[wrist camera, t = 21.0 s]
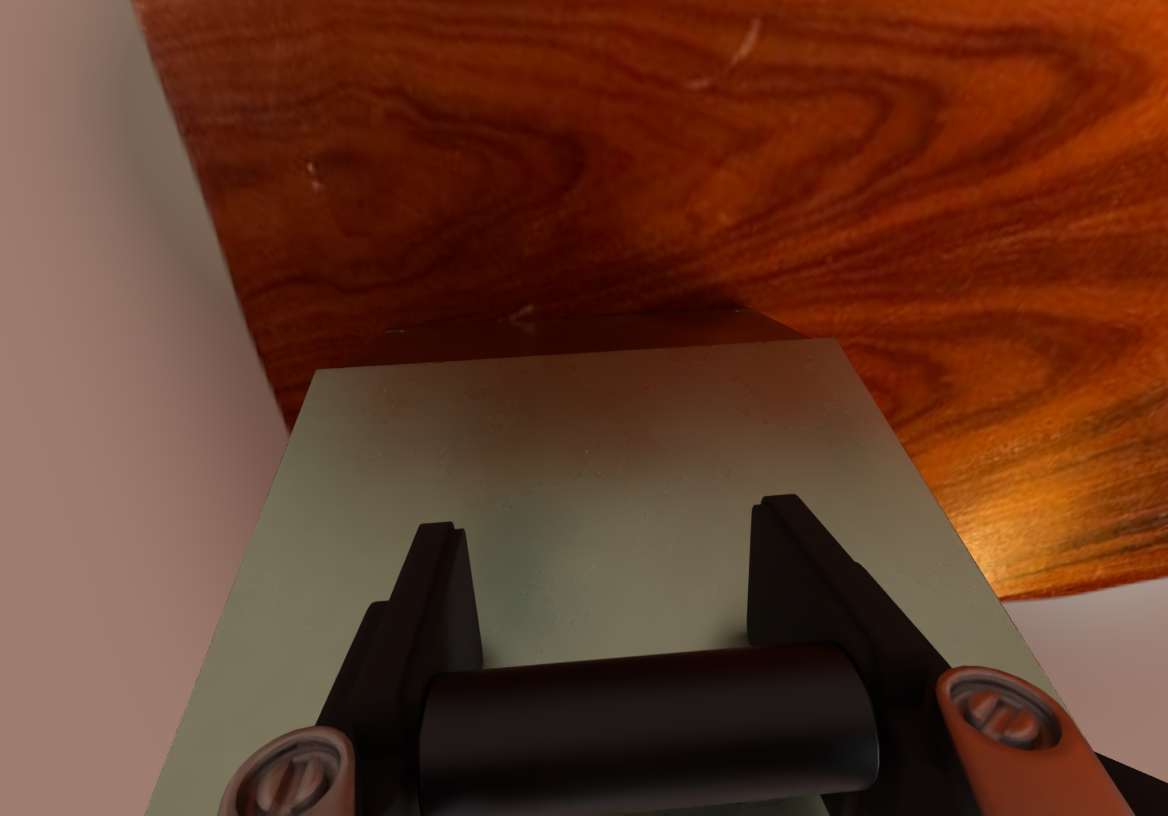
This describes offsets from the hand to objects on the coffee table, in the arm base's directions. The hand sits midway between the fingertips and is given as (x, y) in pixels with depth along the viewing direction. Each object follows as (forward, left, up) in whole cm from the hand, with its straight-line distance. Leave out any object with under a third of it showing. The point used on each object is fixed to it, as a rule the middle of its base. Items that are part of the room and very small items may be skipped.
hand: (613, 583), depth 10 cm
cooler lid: (0, -1, -2) cm, 3 cm away
